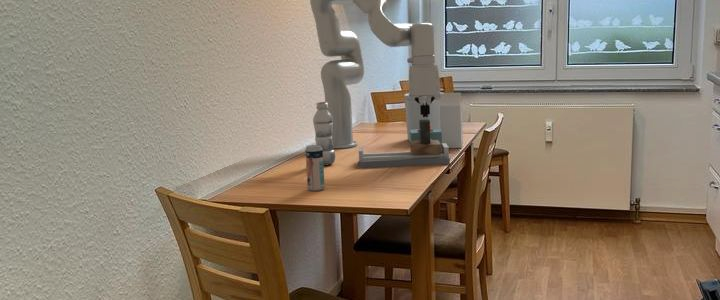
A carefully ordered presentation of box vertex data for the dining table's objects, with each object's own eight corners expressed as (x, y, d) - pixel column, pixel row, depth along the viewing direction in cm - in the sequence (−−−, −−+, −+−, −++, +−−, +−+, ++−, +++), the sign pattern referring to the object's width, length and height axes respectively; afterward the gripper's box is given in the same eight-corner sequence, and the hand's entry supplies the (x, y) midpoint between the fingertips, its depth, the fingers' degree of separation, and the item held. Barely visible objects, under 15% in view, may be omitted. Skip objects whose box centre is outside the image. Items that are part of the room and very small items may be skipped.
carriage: (411, 155, 220) (410, 123, 218) (410, 150, 229) (409, 119, 227) (441, 153, 220) (440, 121, 218) (438, 149, 229) (437, 118, 227)
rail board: (359, 168, 220) (358, 152, 219) (360, 160, 232) (359, 145, 231) (449, 164, 219) (449, 148, 218) (446, 157, 231) (445, 142, 230)
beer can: (307, 188, 195) (304, 145, 193) (324, 187, 195) (322, 144, 193) (307, 192, 190) (304, 148, 188) (325, 191, 190) (322, 147, 188)
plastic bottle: (338, 162, 230) (335, 101, 227) (331, 167, 224) (327, 103, 220) (320, 162, 232) (316, 101, 229) (312, 166, 226) (308, 104, 222)
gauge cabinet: (411, 157, 234) (411, 133, 232) (410, 152, 242) (409, 129, 240) (442, 155, 233) (441, 131, 232) (440, 151, 242) (439, 128, 240)
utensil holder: (435, 143, 259) (434, 95, 256) (399, 141, 267) (397, 95, 264) (451, 137, 272) (450, 91, 269) (416, 136, 279) (414, 91, 276)
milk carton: (461, 148, 246) (460, 93, 243) (440, 148, 248) (439, 94, 244) (462, 145, 253) (461, 91, 250) (442, 145, 254) (441, 92, 251)
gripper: (400, 62, 229) (403, 119, 232) (447, 60, 229) (449, 117, 232) (400, 62, 236) (402, 116, 239) (444, 59, 236) (446, 114, 239)
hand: (425, 116), depth 236 cm, fingers closed
